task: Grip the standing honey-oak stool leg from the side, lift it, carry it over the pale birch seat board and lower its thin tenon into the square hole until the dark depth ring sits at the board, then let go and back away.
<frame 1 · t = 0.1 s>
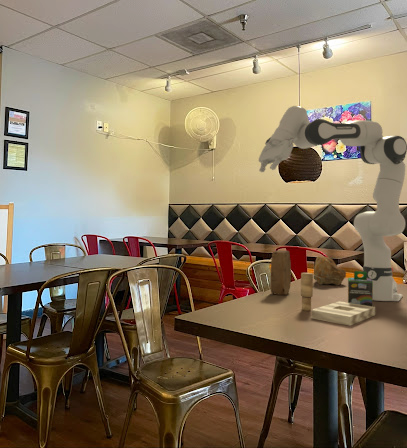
hand: (266, 170, 167), 54 cm above the table, fingers open, 8 cm apart
seat board: (343, 316, 150), on the table
chalk box: (359, 308, 165), on the table
oak leg: (306, 309, 160), on the table
block: (280, 293, 194), on the table
brown rock: (329, 284, 227), on the table
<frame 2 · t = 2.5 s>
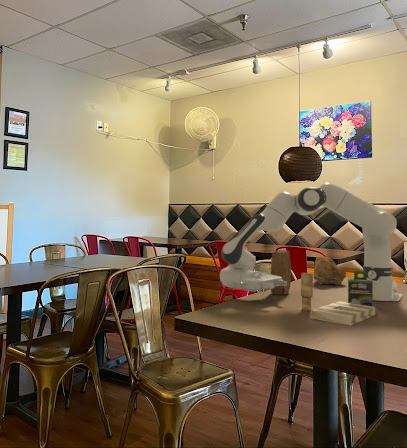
hand: (279, 285, 168), 8 cm above the table, fingers open, 8 cm apart
nothing on the table moved.
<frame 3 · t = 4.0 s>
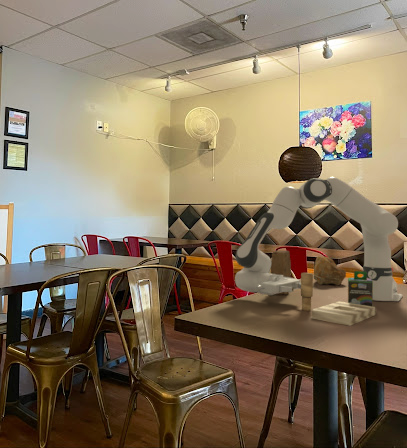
hand: (298, 288, 162), 8 cm above the table, fingers open, 8 cm apart
nothing on the table moved.
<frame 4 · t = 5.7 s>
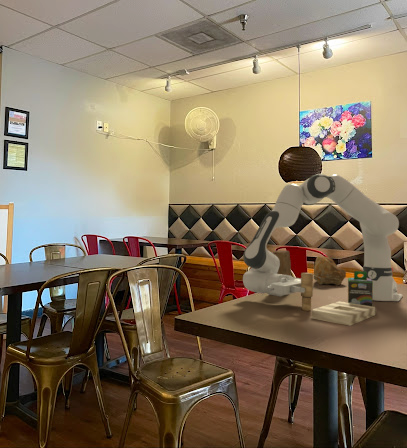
hand: (308, 289, 159), 8 cm above the table, fingers closed on oak leg, 4 cm apart
oak leg: (306, 309, 160), on the table, touching gripper
everything else where it was.
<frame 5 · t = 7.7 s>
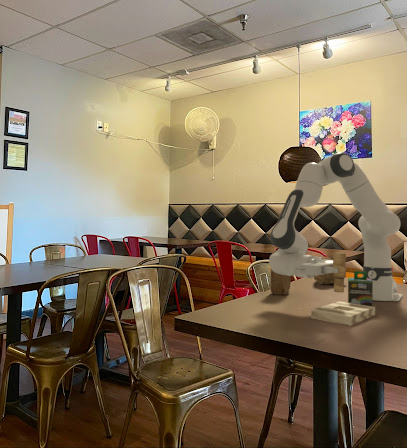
hand: (341, 269, 150), 17 cm above the table, fingers closed on oak leg, 4 cm apart
oak leg: (338, 291, 151), point 9 cm above the table, touching gripper
everything else where it was.
when the fingers open (9 cm above the table, at t = 10.1 s): oak leg drops 1 cm, resting in seat board.
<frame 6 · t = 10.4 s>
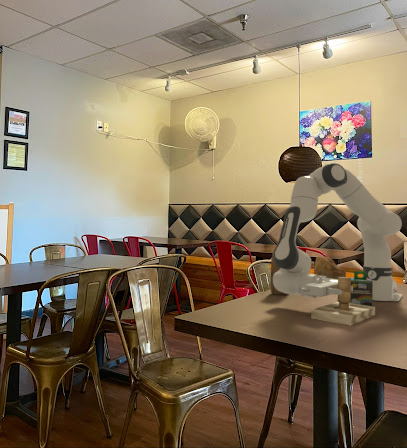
hand: (346, 290, 149), 9 cm above the table, fingers open, 8 cm apart
oak leg: (343, 316, 150), resting in seat board
everything else where it was.
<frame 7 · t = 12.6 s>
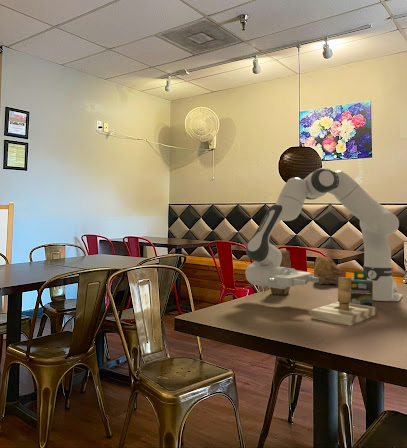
hand: (311, 281, 159), 11 cm above the table, fingers open, 8 cm apart
nothing on the table moved.
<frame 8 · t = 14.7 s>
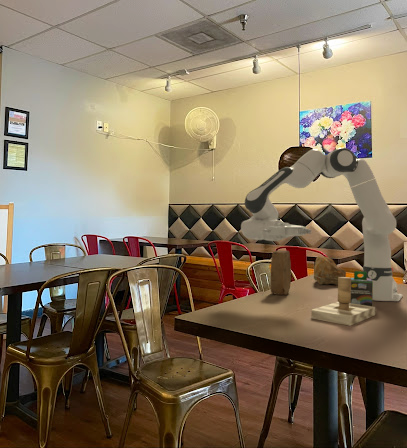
hand: (304, 231, 164), 30 cm above the table, fingers open, 8 cm apart
nothing on the table moved.
at the end: oak leg 0.0 cm off-centre on the seat board, point 0.0 cm above the seat board's base; oak leg tilted 0°; the gripper is holding nothing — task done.
